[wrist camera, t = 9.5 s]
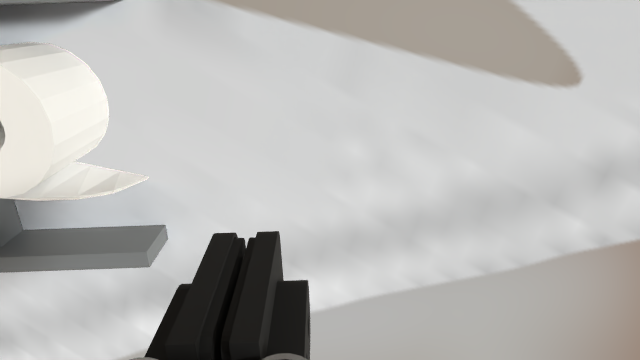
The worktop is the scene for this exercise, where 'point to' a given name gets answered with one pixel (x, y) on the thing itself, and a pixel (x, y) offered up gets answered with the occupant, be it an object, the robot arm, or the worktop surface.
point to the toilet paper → (52, 126)
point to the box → (73, 235)
